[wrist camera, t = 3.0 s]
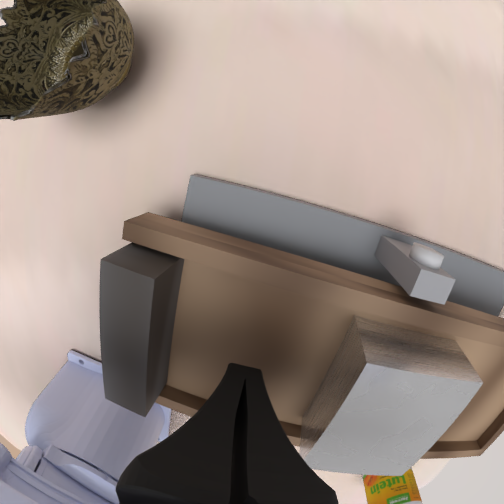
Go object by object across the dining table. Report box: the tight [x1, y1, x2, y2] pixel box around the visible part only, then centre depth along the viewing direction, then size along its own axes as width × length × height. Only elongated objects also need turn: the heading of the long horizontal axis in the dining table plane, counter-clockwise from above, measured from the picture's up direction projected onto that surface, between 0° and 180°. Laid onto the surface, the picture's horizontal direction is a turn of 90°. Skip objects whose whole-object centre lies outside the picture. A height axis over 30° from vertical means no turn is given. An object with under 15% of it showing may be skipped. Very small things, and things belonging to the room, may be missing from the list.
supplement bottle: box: [363, 468, 422, 504], centre depth 19 cm, size 5×5×10 cm
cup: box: [0, 0, 134, 121], centre depth 10 cm, size 8×7×8 cm
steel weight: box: [299, 315, 483, 476], centre depth 12 cm, size 6×7×4 cm
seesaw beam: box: [100, 212, 504, 459], centre depth 13 cm, size 26×10×4 cm, turn 76°
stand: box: [181, 174, 504, 317], centre depth 15 cm, size 23×14×6 cm, turn 76°
